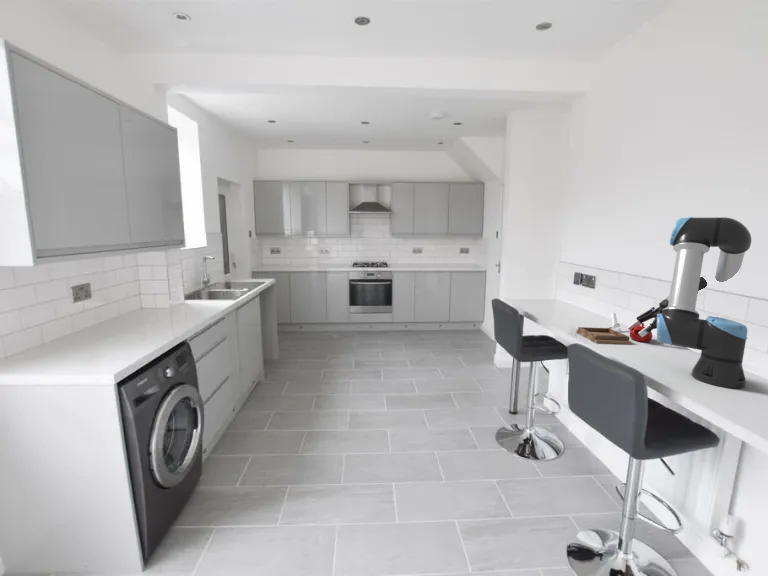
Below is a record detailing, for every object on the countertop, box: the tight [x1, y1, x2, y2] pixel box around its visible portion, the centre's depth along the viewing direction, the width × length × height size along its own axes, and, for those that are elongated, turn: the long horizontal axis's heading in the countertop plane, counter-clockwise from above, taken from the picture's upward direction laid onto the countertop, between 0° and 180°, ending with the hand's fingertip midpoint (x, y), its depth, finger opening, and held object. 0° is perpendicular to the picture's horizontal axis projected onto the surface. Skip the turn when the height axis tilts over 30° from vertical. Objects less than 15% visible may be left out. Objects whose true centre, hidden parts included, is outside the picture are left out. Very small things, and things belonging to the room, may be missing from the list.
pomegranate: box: [629, 322, 653, 343], centre depth 195 cm, size 10×10×9 cm
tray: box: [575, 326, 632, 345], centre depth 197 cm, size 20×17×4 cm
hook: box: [606, 312, 622, 333], centre depth 216 cm, size 8×12×7 cm
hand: (634, 332), depth 195 cm, fingers closed on pomegranate, 10 cm apart
